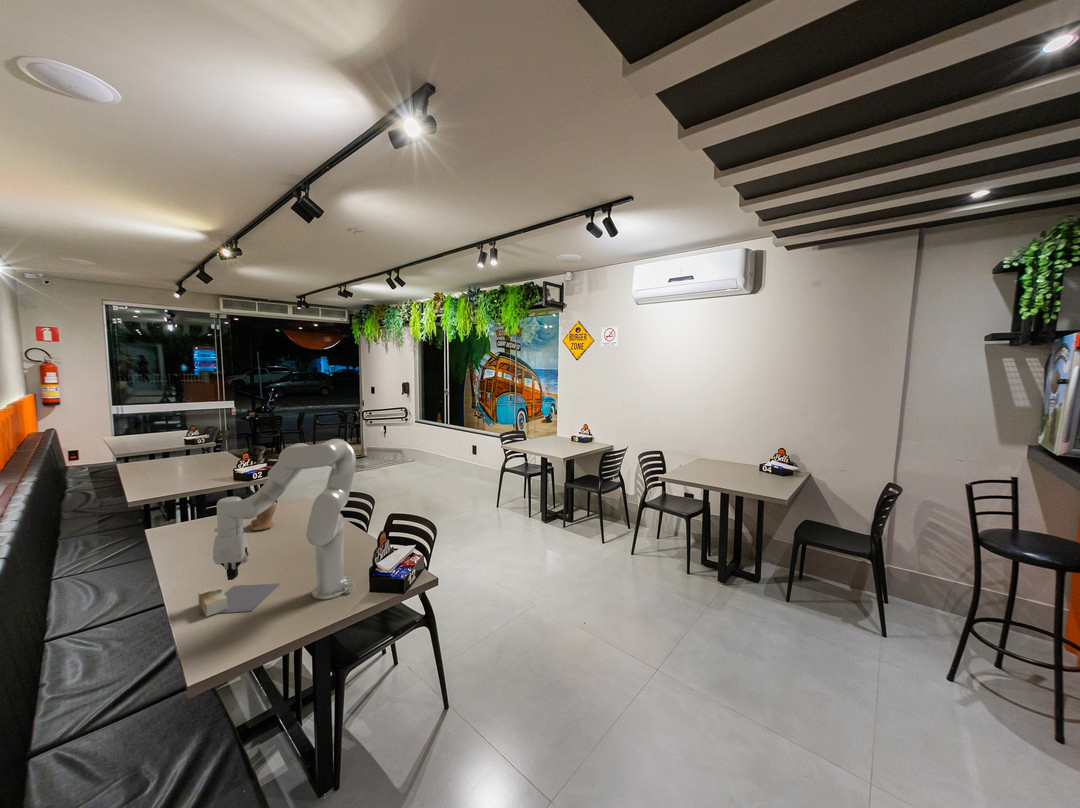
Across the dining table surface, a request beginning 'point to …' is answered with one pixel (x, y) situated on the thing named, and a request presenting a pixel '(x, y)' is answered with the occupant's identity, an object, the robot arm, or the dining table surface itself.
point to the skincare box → (212, 601)
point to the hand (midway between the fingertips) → (232, 578)
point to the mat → (246, 597)
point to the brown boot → (264, 519)
